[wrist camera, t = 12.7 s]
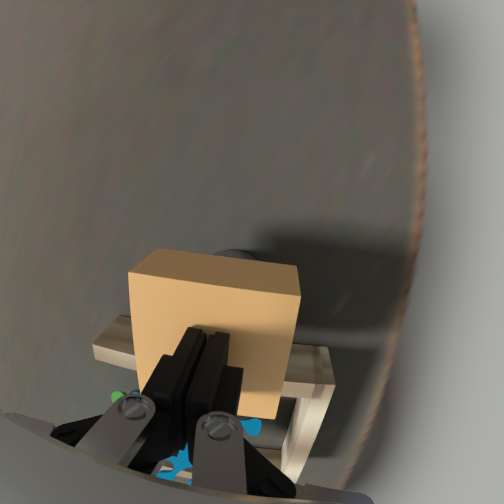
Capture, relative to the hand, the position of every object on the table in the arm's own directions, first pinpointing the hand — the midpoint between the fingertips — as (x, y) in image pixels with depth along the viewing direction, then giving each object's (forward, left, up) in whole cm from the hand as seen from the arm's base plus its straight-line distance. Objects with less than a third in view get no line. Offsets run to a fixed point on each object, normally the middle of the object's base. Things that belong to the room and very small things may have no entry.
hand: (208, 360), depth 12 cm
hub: (0, 0, -3) cm, 3 cm away
